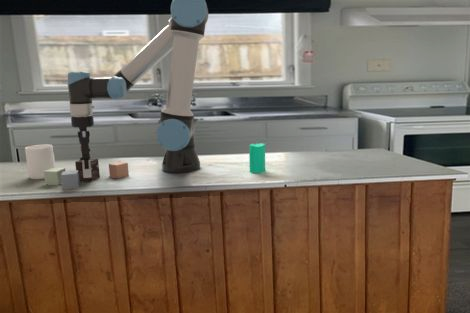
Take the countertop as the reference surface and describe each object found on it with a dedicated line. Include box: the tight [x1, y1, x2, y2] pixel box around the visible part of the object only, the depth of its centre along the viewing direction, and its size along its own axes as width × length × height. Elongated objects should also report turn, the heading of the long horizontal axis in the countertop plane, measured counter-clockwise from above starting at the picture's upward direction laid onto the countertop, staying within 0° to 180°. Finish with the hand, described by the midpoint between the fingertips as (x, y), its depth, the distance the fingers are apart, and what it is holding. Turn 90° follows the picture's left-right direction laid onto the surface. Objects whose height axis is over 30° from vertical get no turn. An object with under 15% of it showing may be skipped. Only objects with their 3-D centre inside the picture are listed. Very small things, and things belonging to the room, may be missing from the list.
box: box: [74, 158, 101, 182], centre depth 150 cm, size 6×6×7 cm
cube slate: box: [61, 169, 81, 190], centre depth 142 cm, size 5×5×5 cm
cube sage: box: [44, 167, 66, 186], centre depth 147 cm, size 5×5×5 cm
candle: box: [248, 142, 266, 174], centre depth 155 cm, size 6×6×12 cm
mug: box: [24, 143, 56, 180], centre depth 157 cm, size 10×12×12 cm
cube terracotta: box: [108, 161, 130, 179], centre depth 154 cm, size 5×5×5 cm
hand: (86, 173), depth 150 cm, fingers open, 13 cm apart
